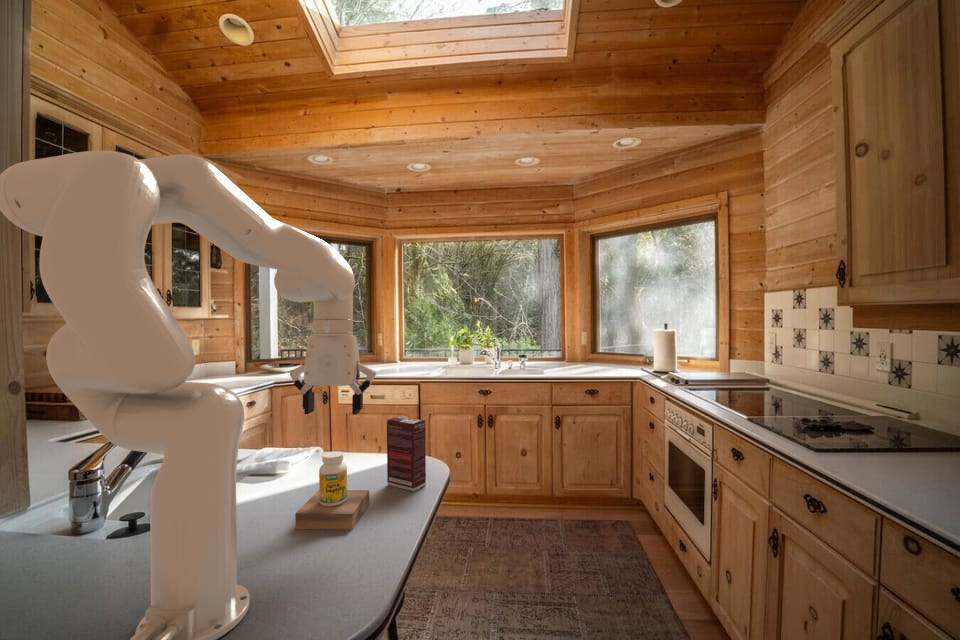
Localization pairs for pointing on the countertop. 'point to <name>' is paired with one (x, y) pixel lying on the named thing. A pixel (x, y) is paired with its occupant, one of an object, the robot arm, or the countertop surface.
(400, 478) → the supplement box
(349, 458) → the countertop surface
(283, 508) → the countertop surface
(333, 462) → the supplement bottle
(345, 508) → the square wooden block
